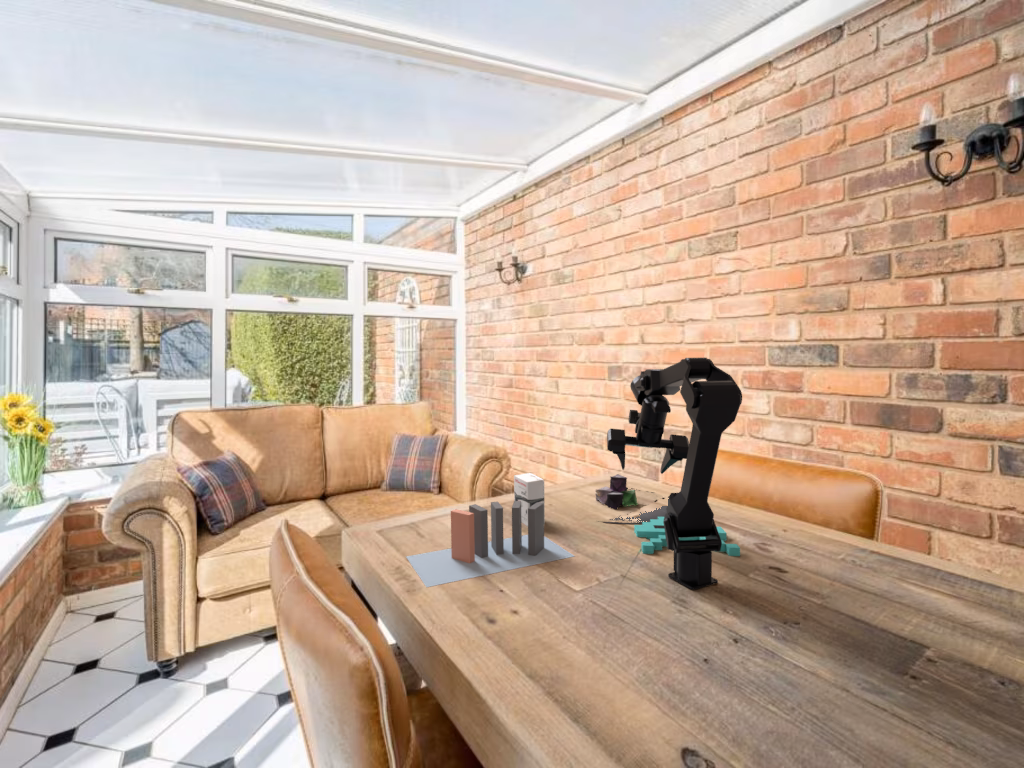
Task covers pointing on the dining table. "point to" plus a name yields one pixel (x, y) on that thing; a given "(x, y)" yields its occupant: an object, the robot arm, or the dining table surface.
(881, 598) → the dining table surface
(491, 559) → the mat
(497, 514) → the domino
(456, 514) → the domino
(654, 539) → the alien figure
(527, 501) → the ink box
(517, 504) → the domino
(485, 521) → the domino
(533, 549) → the domino
